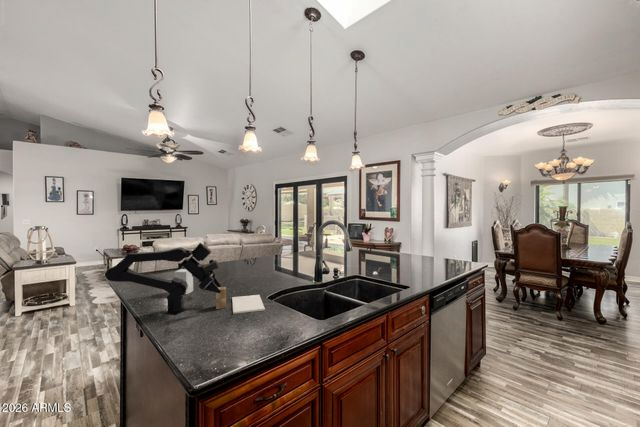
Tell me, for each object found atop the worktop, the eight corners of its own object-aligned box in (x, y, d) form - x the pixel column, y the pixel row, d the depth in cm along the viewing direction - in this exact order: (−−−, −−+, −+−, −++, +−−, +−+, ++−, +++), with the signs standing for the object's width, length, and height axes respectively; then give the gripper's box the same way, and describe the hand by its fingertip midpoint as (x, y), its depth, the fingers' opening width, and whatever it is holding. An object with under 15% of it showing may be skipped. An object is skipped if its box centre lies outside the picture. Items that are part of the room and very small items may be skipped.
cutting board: (233, 313, 124) (233, 312, 124) (232, 298, 145) (232, 297, 145) (264, 310, 129) (264, 308, 128) (259, 296, 149) (259, 294, 149)
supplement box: (193, 290, 158) (193, 269, 158) (186, 294, 151) (186, 271, 151) (181, 290, 159) (181, 268, 159) (173, 294, 152) (173, 271, 152)
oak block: (216, 309, 130) (216, 290, 130) (216, 305, 134) (216, 287, 134) (226, 308, 131) (226, 289, 131) (226, 304, 136) (226, 286, 135)
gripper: (206, 258, 122) (233, 281, 125) (209, 252, 139) (232, 272, 143) (187, 278, 119) (214, 300, 123) (192, 269, 137) (216, 289, 141)
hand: (220, 289), depth 132 cm, fingers open, 9 cm apart
